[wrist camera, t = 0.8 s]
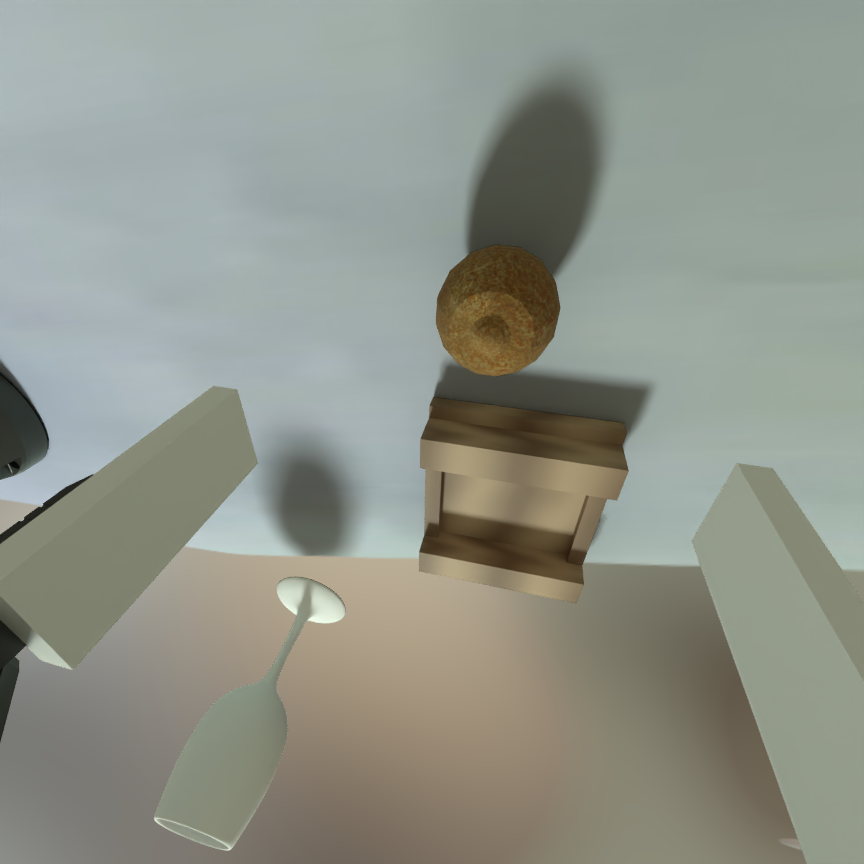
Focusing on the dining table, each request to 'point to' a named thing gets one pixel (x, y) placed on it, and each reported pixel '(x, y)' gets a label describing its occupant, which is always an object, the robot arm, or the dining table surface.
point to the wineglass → (239, 740)
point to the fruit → (497, 310)
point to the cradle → (515, 494)
